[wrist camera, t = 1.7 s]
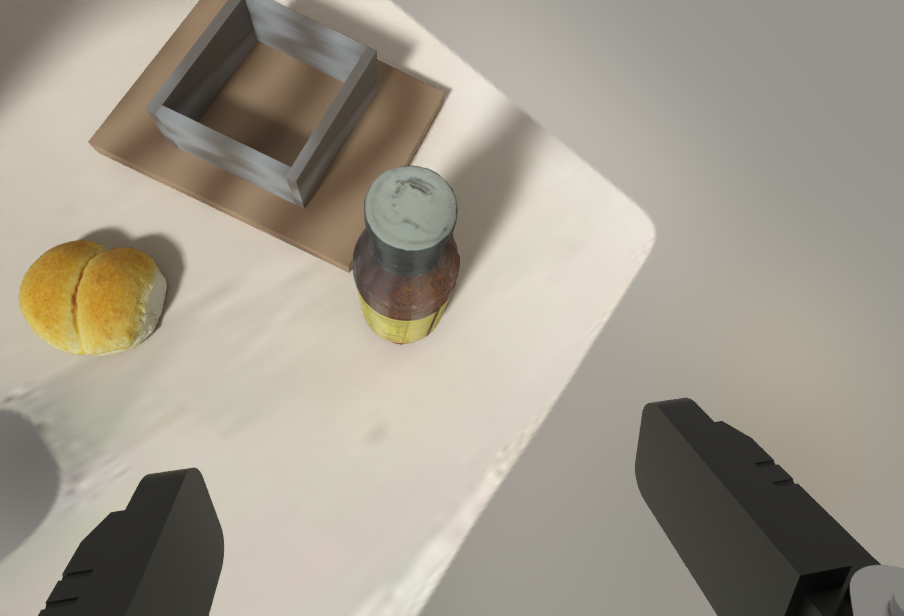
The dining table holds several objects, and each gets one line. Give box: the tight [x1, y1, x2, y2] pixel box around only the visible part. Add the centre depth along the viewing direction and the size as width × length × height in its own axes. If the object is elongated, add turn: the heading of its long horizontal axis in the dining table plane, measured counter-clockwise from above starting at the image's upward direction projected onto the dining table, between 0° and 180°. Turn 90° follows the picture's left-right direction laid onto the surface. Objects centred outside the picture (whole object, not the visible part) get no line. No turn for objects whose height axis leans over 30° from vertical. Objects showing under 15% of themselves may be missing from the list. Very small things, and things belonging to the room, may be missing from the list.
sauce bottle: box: [352, 166, 460, 344], centre depth 31 cm, size 7×6×20 cm
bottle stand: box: [89, 0, 444, 273], centre depth 40 cm, size 22×18×6 cm
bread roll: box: [19, 240, 167, 356], centre depth 36 cm, size 8×9×4 cm
